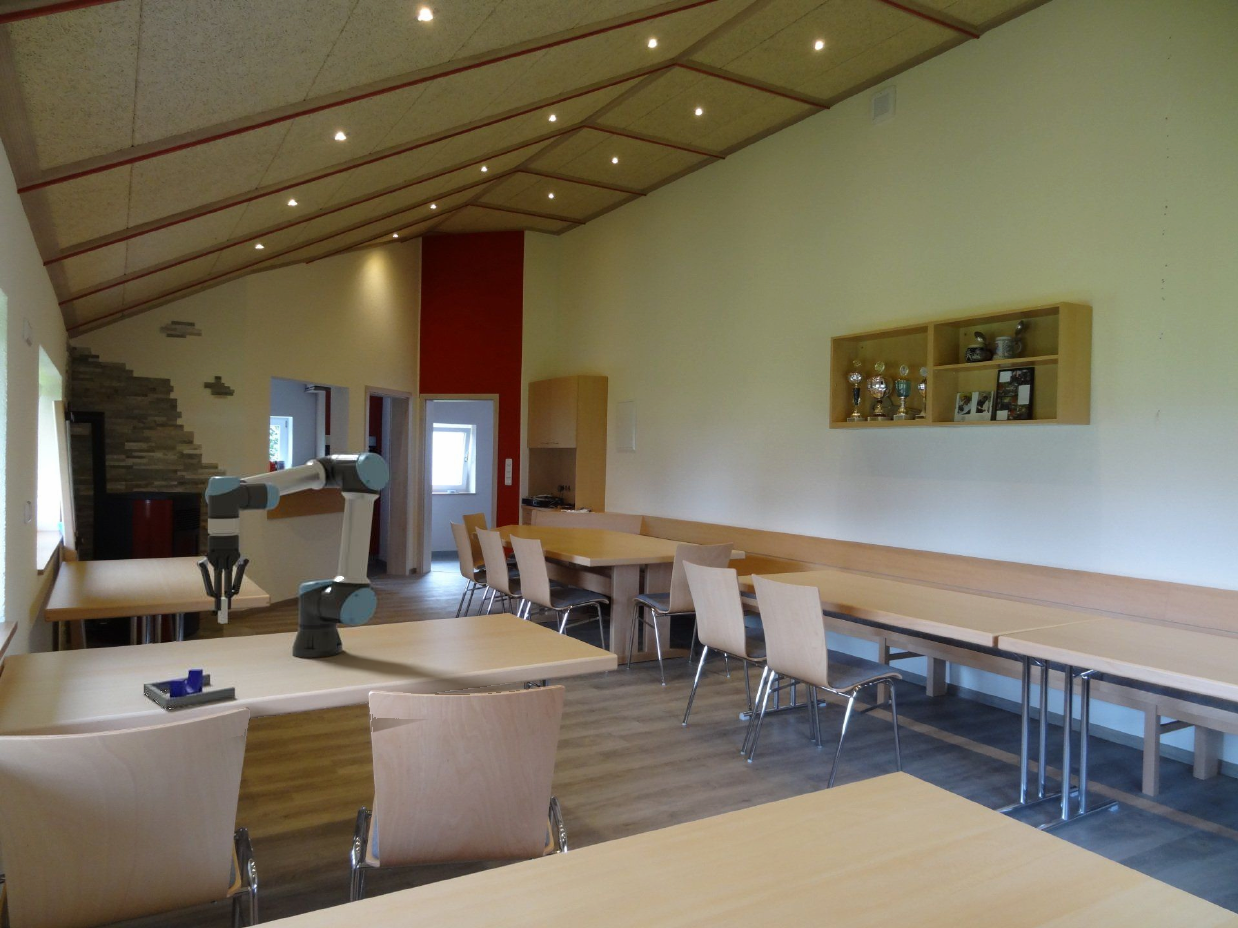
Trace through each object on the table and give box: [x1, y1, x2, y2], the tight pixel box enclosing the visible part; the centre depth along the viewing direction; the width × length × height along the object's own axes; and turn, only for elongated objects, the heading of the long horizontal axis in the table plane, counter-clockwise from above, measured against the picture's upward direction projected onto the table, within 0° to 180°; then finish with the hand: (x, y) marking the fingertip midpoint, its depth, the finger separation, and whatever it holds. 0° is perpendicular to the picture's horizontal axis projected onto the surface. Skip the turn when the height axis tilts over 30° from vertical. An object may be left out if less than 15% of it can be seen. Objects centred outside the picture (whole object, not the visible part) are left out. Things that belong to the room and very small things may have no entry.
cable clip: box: [169, 668, 204, 698], centre depth 211 cm, size 12×4×6 cm, turn 4°
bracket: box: [143, 673, 236, 710], centre depth 213 cm, size 16×19×2 cm
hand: (222, 622), depth 218 cm, fingers closed
